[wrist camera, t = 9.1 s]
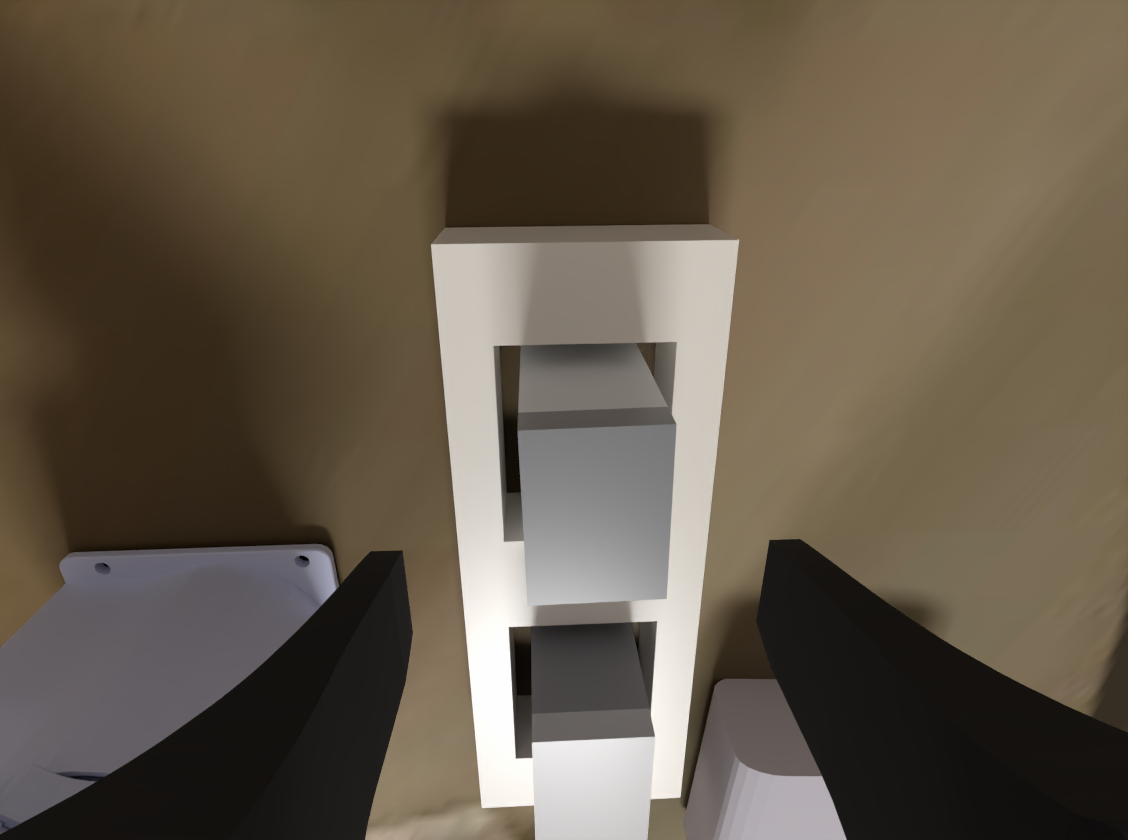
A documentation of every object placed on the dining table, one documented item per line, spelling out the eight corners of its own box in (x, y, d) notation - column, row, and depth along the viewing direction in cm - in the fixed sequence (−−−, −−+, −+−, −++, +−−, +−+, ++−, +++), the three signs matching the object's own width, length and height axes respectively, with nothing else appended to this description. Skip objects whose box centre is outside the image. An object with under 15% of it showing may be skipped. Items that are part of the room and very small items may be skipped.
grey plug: (528, 472, 23) (527, 605, 16) (521, 337, 21) (517, 430, 14) (628, 468, 23) (666, 599, 17) (631, 333, 21) (676, 424, 14)
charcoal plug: (534, 680, 27) (535, 851, 21) (531, 585, 25) (531, 742, 19) (618, 676, 27) (646, 845, 21) (622, 582, 25) (655, 736, 19)
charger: (662, 885, 34) (709, 673, 28) (830, 883, 34) (913, 676, 28) (682, 996, 29) (742, 774, 23) (874, 990, 30) (982, 775, 24)
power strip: (486, 742, 28) (480, 827, 25) (444, 227, 19) (426, 249, 16) (665, 733, 29) (684, 816, 25) (709, 224, 19) (748, 245, 16)
